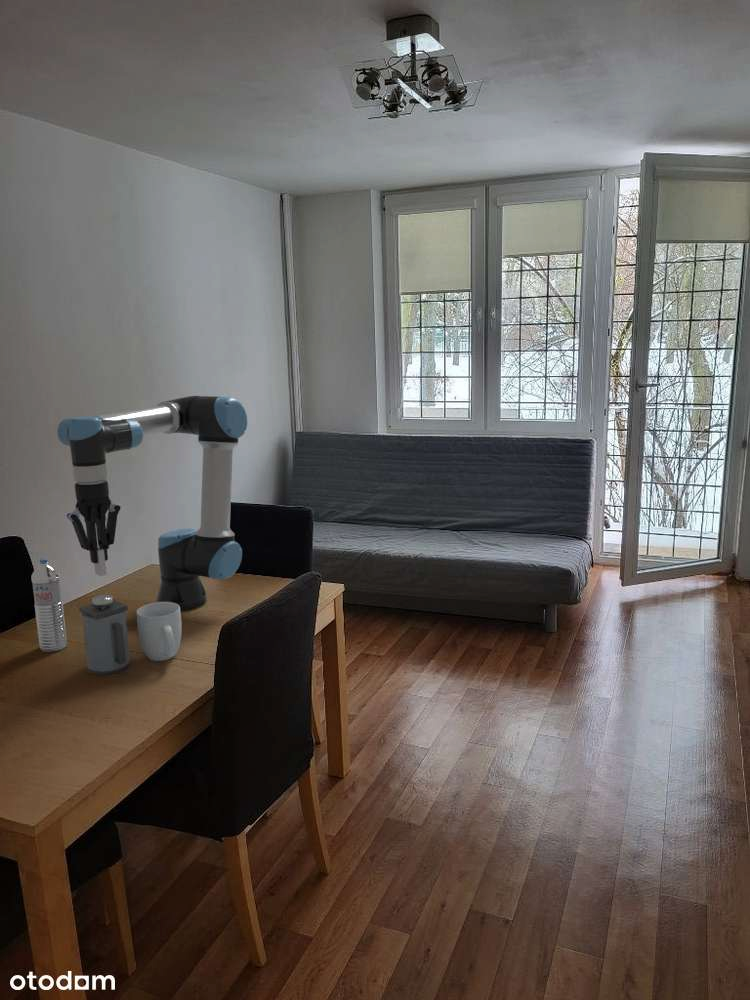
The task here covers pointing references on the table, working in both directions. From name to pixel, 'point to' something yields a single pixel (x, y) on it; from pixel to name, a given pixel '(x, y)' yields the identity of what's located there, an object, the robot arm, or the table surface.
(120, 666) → the carafe
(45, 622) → the water bottle
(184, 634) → the table surface
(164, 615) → the mug
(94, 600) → the plunger
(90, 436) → the robot arm
